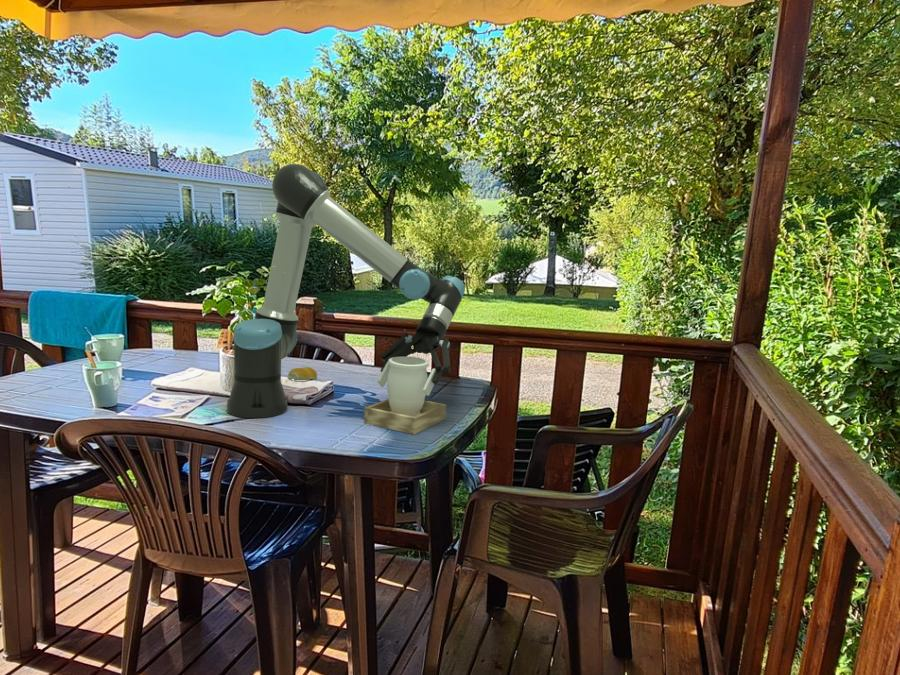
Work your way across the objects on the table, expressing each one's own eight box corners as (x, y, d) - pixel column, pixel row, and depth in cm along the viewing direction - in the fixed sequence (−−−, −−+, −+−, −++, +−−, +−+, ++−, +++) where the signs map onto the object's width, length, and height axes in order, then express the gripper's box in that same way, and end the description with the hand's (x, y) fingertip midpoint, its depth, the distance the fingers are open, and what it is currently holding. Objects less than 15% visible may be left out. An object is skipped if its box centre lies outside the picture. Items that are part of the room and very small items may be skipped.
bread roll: (321, 379, 192) (322, 367, 192) (300, 383, 185) (300, 371, 184) (304, 374, 197) (304, 363, 196) (283, 378, 189) (283, 366, 189)
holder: (363, 422, 148) (364, 407, 147) (397, 409, 162) (398, 395, 161) (414, 434, 141) (415, 418, 140) (445, 419, 155) (446, 404, 154)
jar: (430, 422, 148) (434, 365, 145) (390, 424, 145) (393, 365, 142) (419, 409, 158) (422, 355, 155) (381, 410, 155) (384, 355, 152)
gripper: (479, 338, 156) (450, 404, 145) (400, 327, 167) (368, 388, 156) (471, 320, 150) (441, 388, 140) (391, 310, 162) (356, 372, 151)
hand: (402, 388), depth 148 cm, fingers open, 13 cm apart
